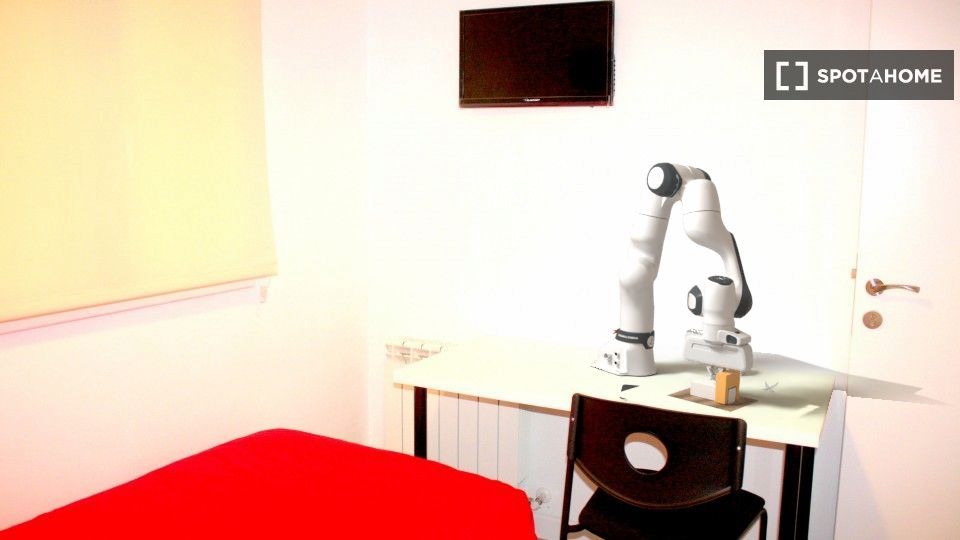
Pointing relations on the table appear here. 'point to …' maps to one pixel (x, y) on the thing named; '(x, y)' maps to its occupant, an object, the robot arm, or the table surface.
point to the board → (728, 407)
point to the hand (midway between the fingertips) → (715, 380)
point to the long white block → (709, 390)
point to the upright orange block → (726, 385)
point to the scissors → (769, 387)
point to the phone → (627, 388)
